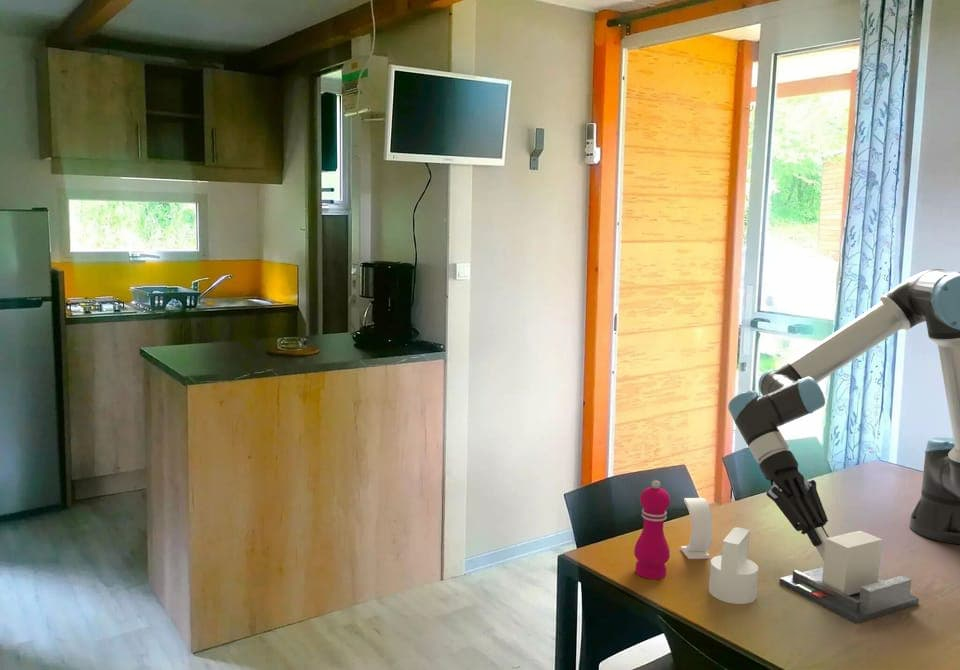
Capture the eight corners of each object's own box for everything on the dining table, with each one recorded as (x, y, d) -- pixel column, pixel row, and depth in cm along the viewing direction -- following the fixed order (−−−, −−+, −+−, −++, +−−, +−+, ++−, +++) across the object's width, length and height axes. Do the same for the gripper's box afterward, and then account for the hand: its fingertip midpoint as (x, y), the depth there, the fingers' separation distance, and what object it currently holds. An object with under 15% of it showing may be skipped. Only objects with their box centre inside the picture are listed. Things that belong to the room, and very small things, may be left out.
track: (839, 567, 173) (841, 542, 172) (918, 604, 157) (921, 576, 156) (779, 583, 165) (781, 557, 164) (856, 623, 149) (859, 594, 148)
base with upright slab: (749, 608, 154) (754, 548, 152) (702, 595, 158) (707, 537, 157) (760, 590, 161) (765, 533, 160) (715, 578, 166) (720, 523, 164)
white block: (851, 575, 165) (856, 528, 164) (877, 587, 160) (882, 539, 159) (818, 584, 161) (822, 536, 159) (843, 597, 156) (847, 547, 154)
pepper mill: (668, 582, 164) (674, 487, 161) (632, 578, 165) (638, 484, 162) (667, 567, 171) (673, 476, 168) (633, 563, 172) (638, 473, 169)
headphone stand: (700, 549, 181) (704, 497, 179) (710, 560, 175) (714, 507, 173) (680, 549, 180) (684, 498, 178) (690, 561, 174) (694, 507, 173)
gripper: (784, 462, 181) (840, 561, 169) (742, 469, 176) (797, 572, 163) (806, 445, 176) (865, 546, 164) (762, 452, 170) (821, 557, 158)
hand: (831, 559), depth 164 cm, fingers closed
